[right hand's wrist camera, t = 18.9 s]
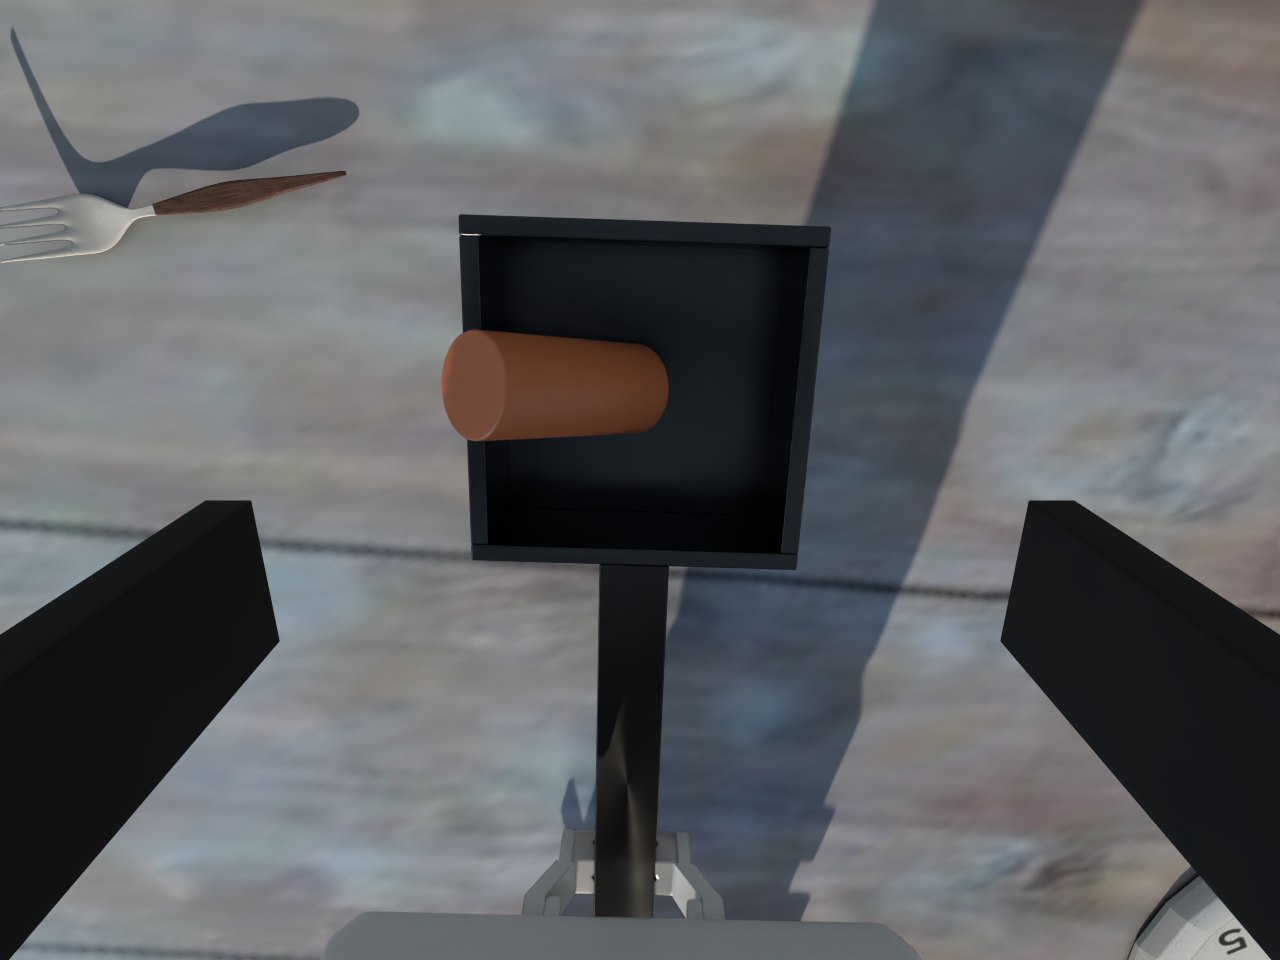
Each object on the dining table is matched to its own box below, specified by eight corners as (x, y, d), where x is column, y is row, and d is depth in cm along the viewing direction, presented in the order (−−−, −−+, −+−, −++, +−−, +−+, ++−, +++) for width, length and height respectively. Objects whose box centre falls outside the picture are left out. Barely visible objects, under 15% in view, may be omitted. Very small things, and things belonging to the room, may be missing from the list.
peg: (603, 430, 27) (440, 437, 22) (605, 344, 27) (440, 330, 21) (667, 436, 25) (505, 446, 20) (671, 343, 24) (505, 327, 19)
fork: (358, 203, 33) (341, 202, 31) (37, 264, 34) (1, 267, 32) (341, 143, 32) (322, 138, 30) (11, 206, 33) (-27, 206, 31)
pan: (489, 223, 26) (458, 214, 21) (799, 233, 26) (831, 226, 21) (506, 871, 34) (486, 961, 30) (741, 878, 34) (755, 968, 30)
